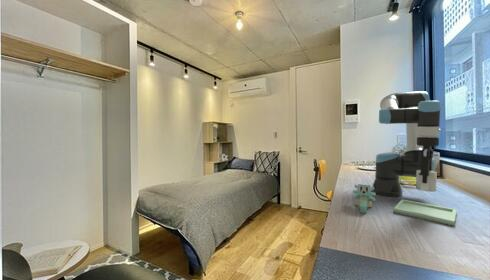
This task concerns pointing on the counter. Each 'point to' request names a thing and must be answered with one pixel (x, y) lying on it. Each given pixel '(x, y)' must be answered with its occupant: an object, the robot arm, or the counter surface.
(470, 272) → the counter surface
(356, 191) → the toy
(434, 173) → the cream rounded capsule
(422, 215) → the tray
